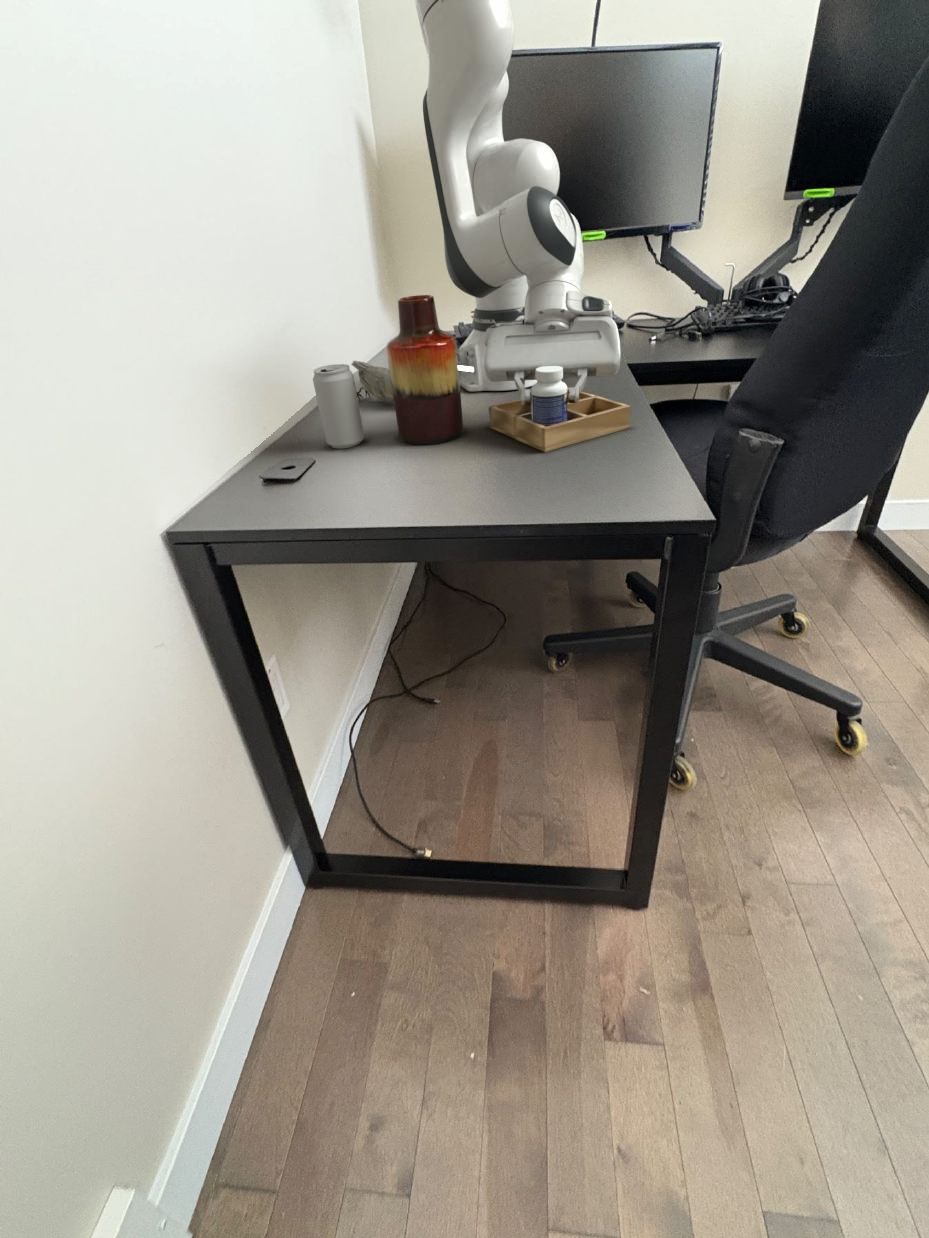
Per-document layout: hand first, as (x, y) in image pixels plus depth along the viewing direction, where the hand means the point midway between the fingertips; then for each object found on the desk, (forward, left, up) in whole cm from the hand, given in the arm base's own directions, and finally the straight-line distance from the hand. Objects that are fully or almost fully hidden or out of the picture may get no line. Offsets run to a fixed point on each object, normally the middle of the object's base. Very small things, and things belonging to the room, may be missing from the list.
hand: (549, 402), depth 89 cm
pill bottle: (-1, 0, -5) cm, 5 cm away
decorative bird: (-40, -11, -6) cm, 42 cm away
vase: (-16, -13, -6) cm, 21 cm away
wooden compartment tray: (-4, +4, -6) cm, 9 cm away
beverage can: (-22, -26, -6) cm, 34 cm away
